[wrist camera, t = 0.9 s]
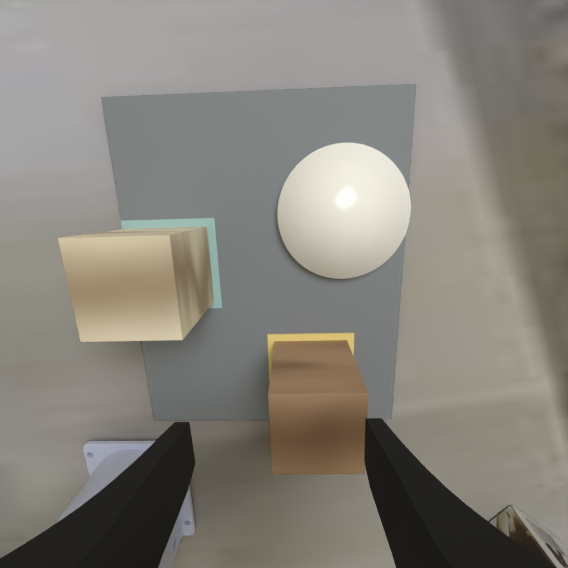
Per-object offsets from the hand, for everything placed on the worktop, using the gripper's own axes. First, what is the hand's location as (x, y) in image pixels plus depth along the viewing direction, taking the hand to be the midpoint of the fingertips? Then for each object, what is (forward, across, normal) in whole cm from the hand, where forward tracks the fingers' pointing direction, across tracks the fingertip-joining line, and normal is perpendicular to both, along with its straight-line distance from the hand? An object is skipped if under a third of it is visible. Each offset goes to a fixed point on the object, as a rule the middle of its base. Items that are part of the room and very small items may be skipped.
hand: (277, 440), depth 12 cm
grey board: (+10, +1, -5) cm, 11 cm away
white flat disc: (+9, -4, -9) cm, 13 cm away
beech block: (+9, +7, -6) cm, 13 cm away
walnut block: (+9, -2, +2) cm, 10 cm away
